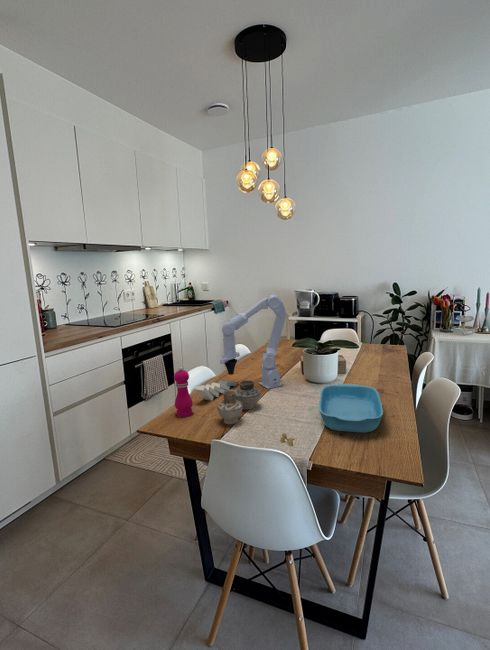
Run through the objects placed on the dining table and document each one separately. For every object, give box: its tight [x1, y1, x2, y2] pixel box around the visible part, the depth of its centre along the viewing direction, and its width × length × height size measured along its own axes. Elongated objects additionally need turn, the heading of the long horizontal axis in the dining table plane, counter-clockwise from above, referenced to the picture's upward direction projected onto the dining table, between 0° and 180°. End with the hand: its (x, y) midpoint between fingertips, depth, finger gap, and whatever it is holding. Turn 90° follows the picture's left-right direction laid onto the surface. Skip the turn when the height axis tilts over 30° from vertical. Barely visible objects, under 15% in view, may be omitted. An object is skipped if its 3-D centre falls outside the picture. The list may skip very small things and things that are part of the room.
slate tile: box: [218, 380, 238, 387], centre depth 170 cm, size 2×5×9 cm
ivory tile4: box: [200, 384, 220, 398], centre depth 157 cm, size 2×5×9 cm
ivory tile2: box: [210, 381, 231, 390], centre depth 165 cm, size 2×5×9 cm
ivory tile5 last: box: [194, 385, 214, 402], centre depth 154 cm, size 2×5×9 cm
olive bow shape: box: [280, 432, 296, 446], centre depth 118 cm, size 5×5×2 cm
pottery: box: [216, 379, 262, 425], centre depth 140 cm, size 11×25×12 cm, turn 154°
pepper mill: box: [173, 366, 194, 418], centre depth 141 cm, size 7×7×20 cm
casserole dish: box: [318, 383, 384, 434], centre depth 134 cm, size 37×22×7 cm, turn 165°
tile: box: [205, 383, 225, 395], centre depth 161 cm, size 2×5×9 cm
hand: (231, 374), depth 172 cm, fingers closed
